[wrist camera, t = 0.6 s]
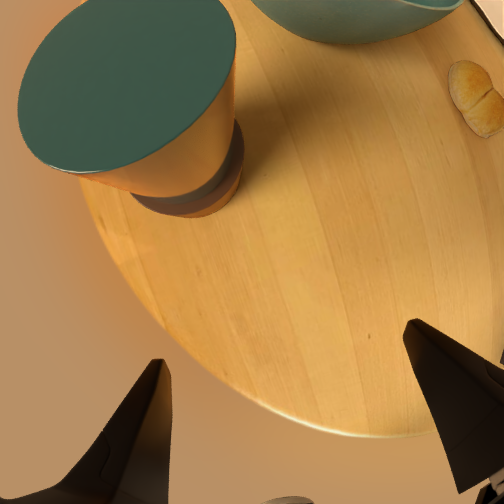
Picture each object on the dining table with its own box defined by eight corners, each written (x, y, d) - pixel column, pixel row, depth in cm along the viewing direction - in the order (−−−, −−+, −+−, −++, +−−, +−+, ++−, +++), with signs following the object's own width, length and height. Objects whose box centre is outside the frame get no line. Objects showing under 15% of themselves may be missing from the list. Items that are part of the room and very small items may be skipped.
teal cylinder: (232, 204, 15) (231, 167, 6) (125, 205, 15) (1, 185, 5) (234, 101, 15) (240, -28, 5) (133, 106, 15) (50, 6, 5)
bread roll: (463, 60, 21) (483, 48, 17) (501, 124, 22) (522, 118, 18) (431, 74, 21) (452, 59, 17) (474, 148, 22) (499, 141, 18)
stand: (240, 218, 22) (243, 215, 16) (145, 218, 21) (115, 216, 15) (242, 125, 21) (245, 92, 15) (150, 127, 20) (125, 98, 14)
